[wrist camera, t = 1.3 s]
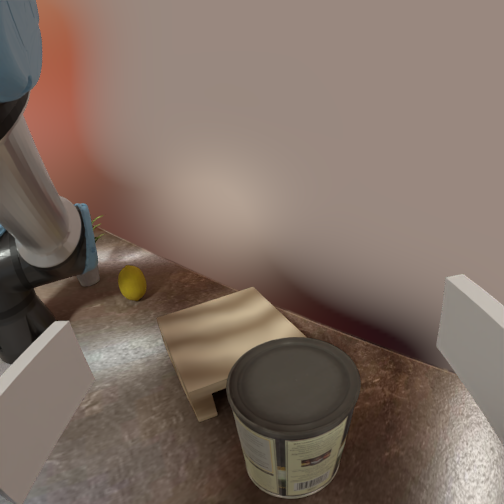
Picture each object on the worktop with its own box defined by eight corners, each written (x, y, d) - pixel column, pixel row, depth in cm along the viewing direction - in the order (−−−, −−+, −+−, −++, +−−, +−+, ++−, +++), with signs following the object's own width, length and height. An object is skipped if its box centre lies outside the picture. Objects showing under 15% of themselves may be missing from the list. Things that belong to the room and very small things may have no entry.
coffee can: (289, 409, 35) (288, 321, 29) (357, 452, 28) (384, 368, 22) (225, 460, 29) (199, 380, 23) (294, 517, 22) (299, 460, 16)
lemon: (146, 308, 58) (135, 271, 55) (120, 308, 58) (109, 273, 55) (153, 292, 63) (144, 257, 60) (129, 293, 63) (119, 259, 60)
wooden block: (165, 347, 47) (156, 317, 45) (255, 316, 53) (253, 286, 51) (199, 422, 34) (188, 392, 32) (310, 374, 40) (311, 342, 38)
